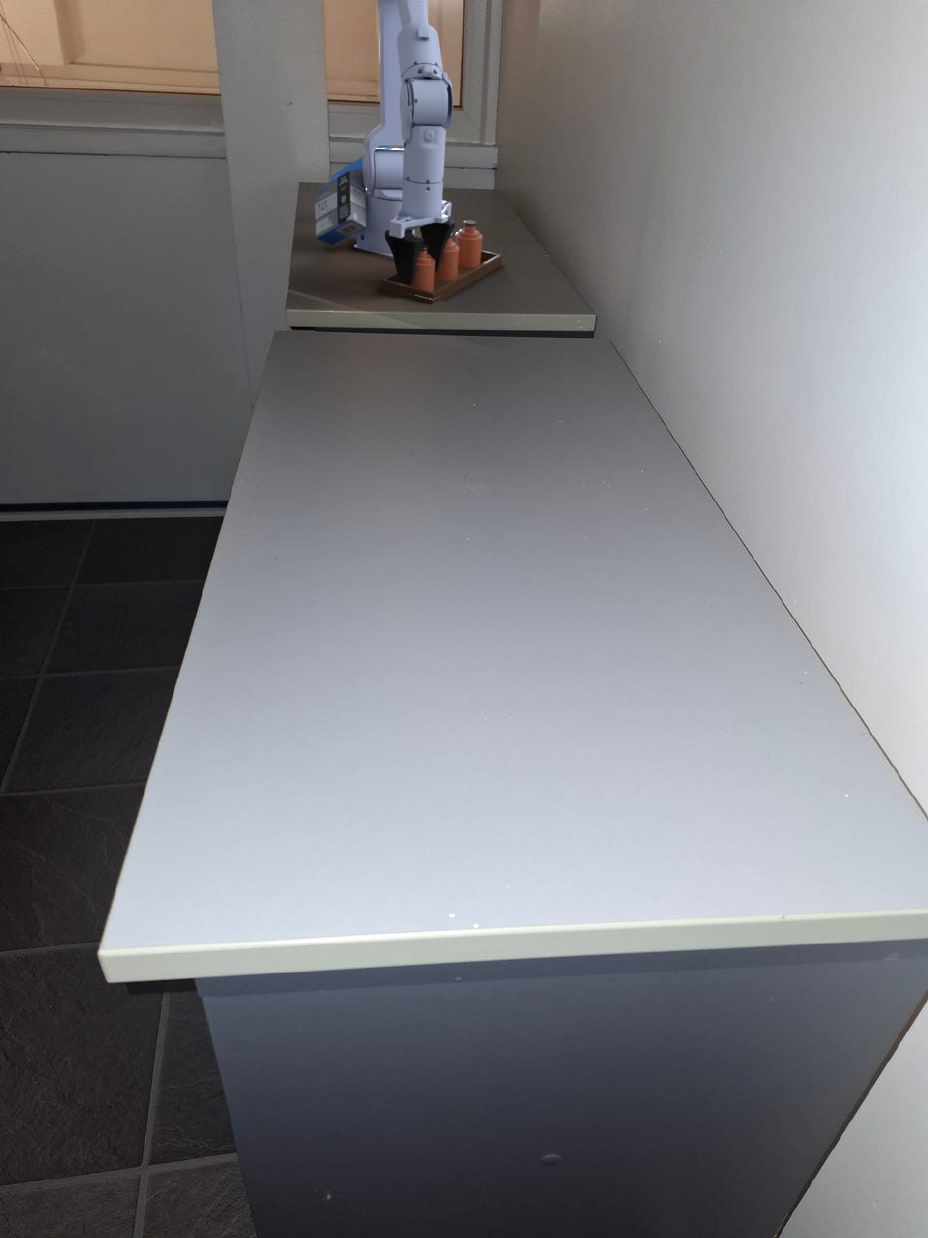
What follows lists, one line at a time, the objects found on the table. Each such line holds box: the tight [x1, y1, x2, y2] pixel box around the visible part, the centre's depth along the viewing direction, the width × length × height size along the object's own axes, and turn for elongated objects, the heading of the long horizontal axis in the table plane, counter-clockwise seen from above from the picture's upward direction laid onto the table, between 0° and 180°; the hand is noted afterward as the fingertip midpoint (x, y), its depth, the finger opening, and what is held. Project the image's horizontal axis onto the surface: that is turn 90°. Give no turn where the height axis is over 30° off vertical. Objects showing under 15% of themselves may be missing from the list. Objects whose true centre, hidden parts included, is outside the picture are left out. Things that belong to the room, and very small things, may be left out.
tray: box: [379, 249, 503, 305], centre depth 136 cm, size 23×9×2 cm, turn 152°
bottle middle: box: [434, 232, 459, 281], centre depth 134 cm, size 4×4×6 cm
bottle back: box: [454, 219, 484, 268], centre depth 140 cm, size 4×4×6 cm
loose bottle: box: [405, 244, 435, 292], centre depth 129 cm, size 4×4×6 cm
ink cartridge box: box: [314, 156, 366, 246], centre depth 141 cm, size 9×4×12 cm
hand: (418, 276), depth 129 cm, fingers open, 7 cm apart
